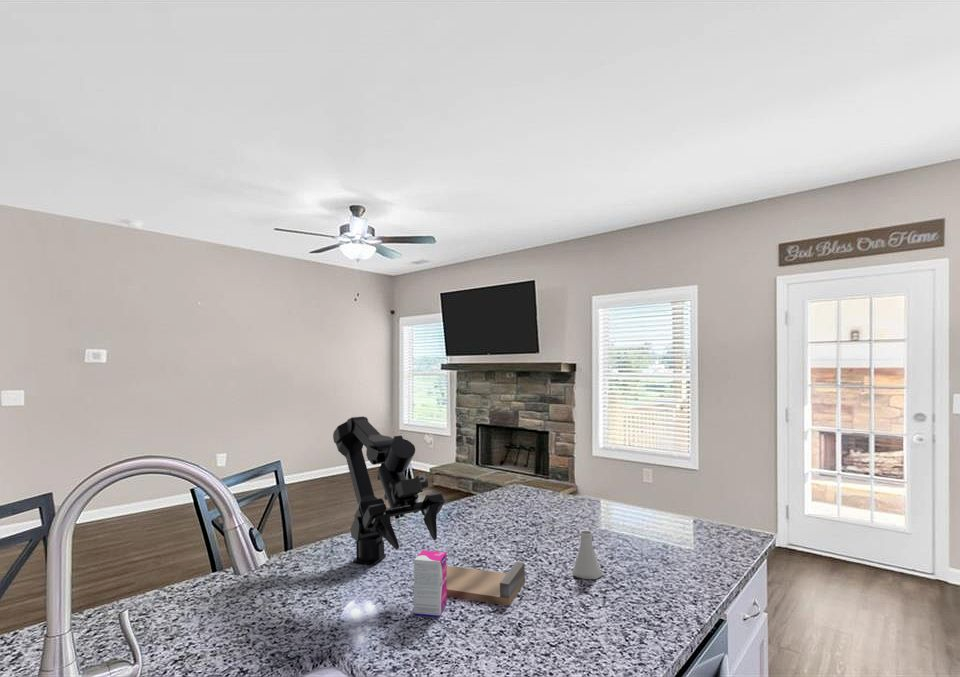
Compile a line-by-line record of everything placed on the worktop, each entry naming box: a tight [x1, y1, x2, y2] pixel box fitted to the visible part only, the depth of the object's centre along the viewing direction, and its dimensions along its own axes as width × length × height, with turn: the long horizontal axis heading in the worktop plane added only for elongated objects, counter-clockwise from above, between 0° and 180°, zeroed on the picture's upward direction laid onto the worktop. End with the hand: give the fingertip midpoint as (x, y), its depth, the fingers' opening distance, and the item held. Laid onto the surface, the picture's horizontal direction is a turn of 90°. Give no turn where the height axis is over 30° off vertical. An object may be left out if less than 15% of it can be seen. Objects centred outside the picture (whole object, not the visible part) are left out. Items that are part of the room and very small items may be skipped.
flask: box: [572, 529, 603, 580], centre depth 125 cm, size 7×7×10 cm
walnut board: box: [447, 561, 526, 606], centre depth 119 cm, size 20×12×4 cm, turn 69°
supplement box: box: [413, 550, 448, 619], centre depth 109 cm, size 6×6×12 cm
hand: (417, 544), depth 114 cm, fingers open, 9 cm apart
